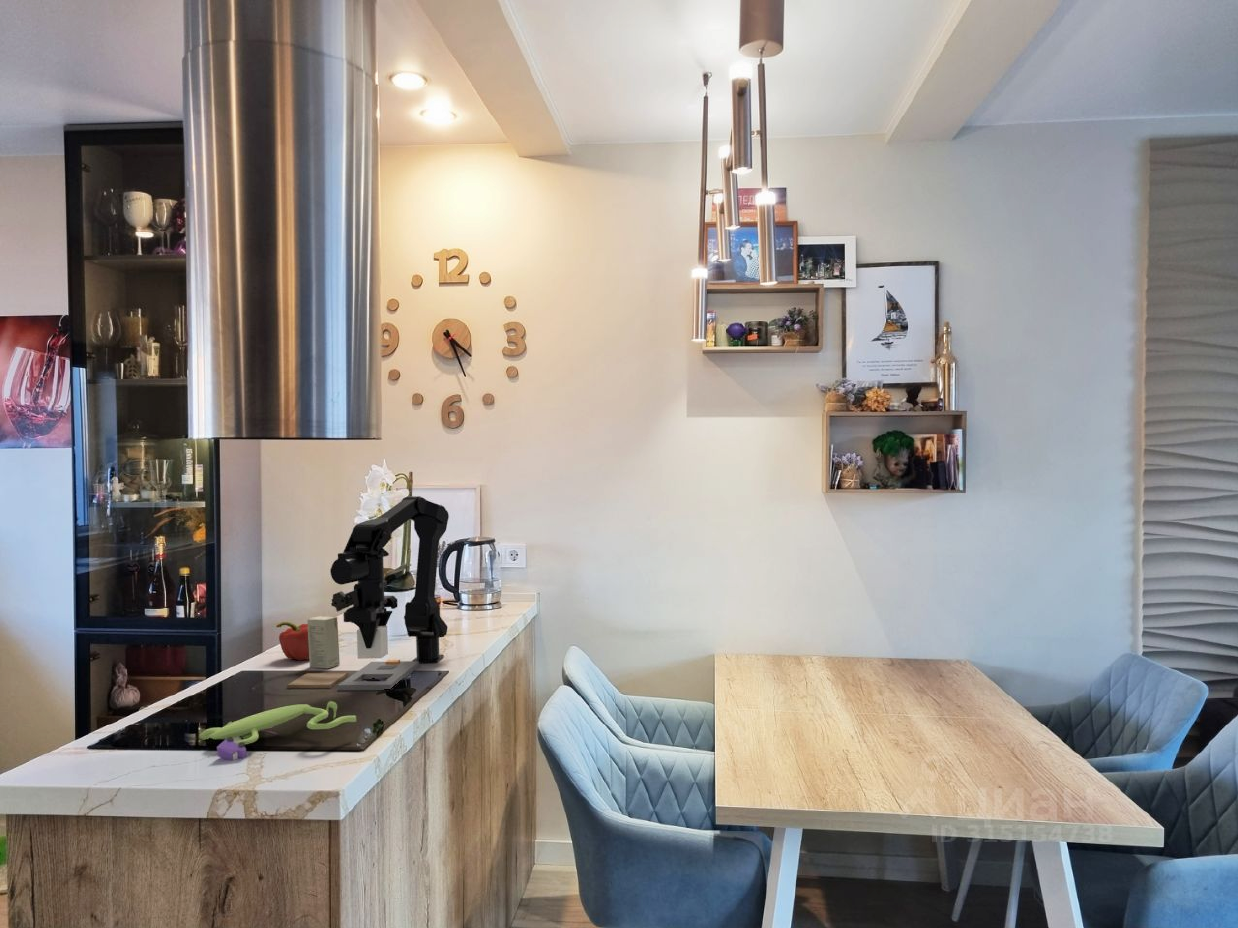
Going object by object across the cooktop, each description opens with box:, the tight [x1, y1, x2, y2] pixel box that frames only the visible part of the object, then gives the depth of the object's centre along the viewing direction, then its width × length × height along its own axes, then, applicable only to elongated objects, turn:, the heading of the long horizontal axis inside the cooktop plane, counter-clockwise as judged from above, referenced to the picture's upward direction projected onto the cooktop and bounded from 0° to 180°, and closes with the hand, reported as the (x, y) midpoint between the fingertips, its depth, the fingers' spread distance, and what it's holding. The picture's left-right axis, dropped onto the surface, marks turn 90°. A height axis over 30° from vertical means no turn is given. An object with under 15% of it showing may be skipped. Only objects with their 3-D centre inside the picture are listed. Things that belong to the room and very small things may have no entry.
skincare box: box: [307, 615, 341, 669], centre depth 204 cm, size 6×4×12 cm
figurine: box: [199, 700, 357, 761], centre depth 150 cm, size 18×27×6 cm
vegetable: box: [276, 621, 309, 661], centre depth 212 cm, size 11×10×10 cm
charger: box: [356, 625, 389, 660], centre depth 187 cm, size 4×6×6 cm
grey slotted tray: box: [337, 659, 420, 691], centre depth 191 cm, size 21×12×2 cm, turn 177°
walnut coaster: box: [286, 672, 349, 689], centre depth 189 cm, size 10×10×1 cm
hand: (372, 645), depth 187 cm, fingers closed on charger, 4 cm apart
